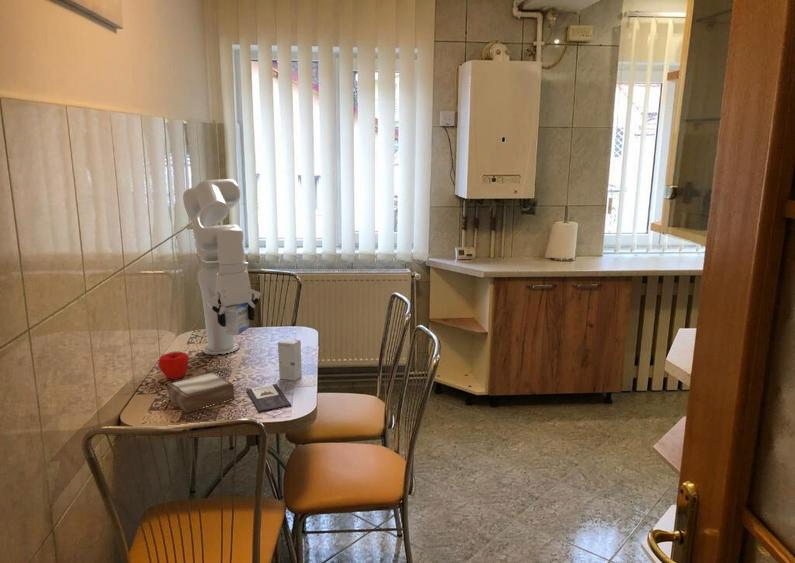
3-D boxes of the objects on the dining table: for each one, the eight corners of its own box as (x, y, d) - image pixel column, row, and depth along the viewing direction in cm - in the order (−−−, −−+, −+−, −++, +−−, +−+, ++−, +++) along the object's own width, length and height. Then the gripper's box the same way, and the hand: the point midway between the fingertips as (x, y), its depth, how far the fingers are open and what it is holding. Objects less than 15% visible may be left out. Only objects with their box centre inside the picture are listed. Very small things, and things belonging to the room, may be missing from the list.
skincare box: (279, 379, 188) (276, 342, 185) (286, 374, 192) (283, 338, 189) (296, 381, 186) (293, 343, 183) (303, 376, 190) (300, 339, 187)
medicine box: (238, 335, 182) (236, 307, 180) (225, 334, 183) (222, 307, 181) (249, 327, 189) (247, 301, 188) (236, 327, 190) (234, 301, 188)
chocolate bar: (258, 410, 163) (246, 389, 179) (259, 414, 163) (246, 392, 179) (291, 404, 166) (276, 383, 182) (291, 407, 166) (276, 386, 183)
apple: (158, 383, 187) (155, 360, 186) (164, 374, 196) (161, 351, 194) (187, 381, 189) (185, 357, 187) (192, 371, 197) (190, 349, 196)
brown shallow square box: (169, 399, 175) (167, 383, 174) (215, 386, 183) (213, 371, 182) (186, 413, 164) (185, 396, 163) (234, 399, 173) (233, 383, 172)
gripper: (252, 263, 190) (256, 315, 194) (199, 270, 179) (205, 325, 183) (263, 266, 184) (267, 319, 188) (209, 274, 174) (215, 331, 177)
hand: (236, 322), depth 185 cm, fingers closed on medicine box, 9 cm apart
